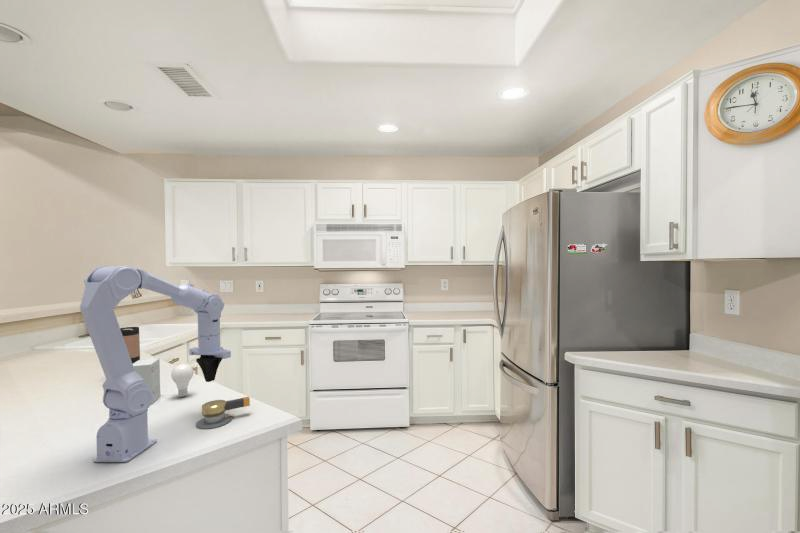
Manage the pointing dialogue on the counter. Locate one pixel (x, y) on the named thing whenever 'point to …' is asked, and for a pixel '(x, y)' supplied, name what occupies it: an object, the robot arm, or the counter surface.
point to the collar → (223, 406)
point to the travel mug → (132, 342)
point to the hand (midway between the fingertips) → (210, 380)
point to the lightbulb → (182, 378)
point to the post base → (210, 426)
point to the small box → (149, 374)
